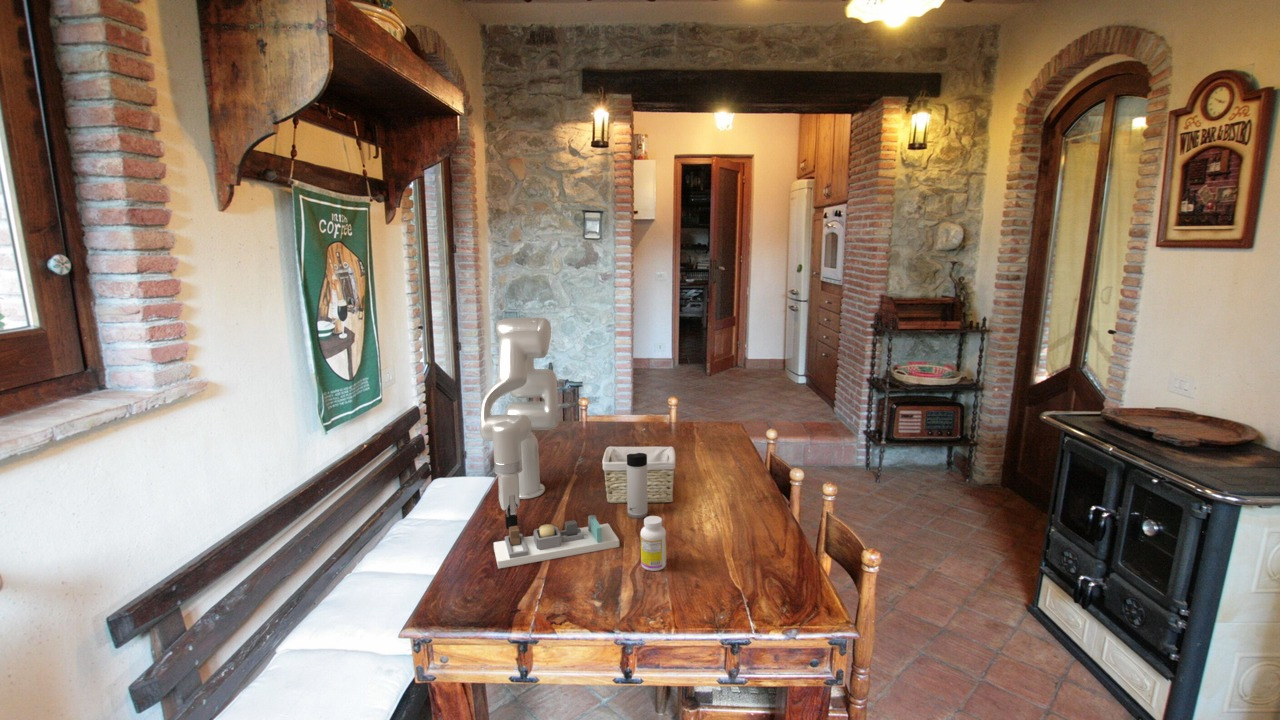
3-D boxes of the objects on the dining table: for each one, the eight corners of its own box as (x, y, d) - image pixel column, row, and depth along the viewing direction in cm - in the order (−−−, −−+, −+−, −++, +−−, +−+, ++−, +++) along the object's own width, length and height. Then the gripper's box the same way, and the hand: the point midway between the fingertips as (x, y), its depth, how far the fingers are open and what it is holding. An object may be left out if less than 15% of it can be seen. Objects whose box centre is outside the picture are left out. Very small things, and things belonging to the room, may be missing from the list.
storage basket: (602, 504, 193) (601, 461, 190) (606, 485, 209) (605, 445, 206) (675, 505, 192) (676, 462, 189) (675, 485, 208) (675, 445, 205)
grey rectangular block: (565, 534, 168) (564, 521, 167) (575, 533, 169) (575, 520, 168) (567, 538, 165) (566, 525, 165) (577, 536, 166) (577, 523, 166)
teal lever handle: (587, 528, 171) (587, 515, 171) (595, 527, 172) (595, 514, 171) (595, 542, 163) (594, 528, 162) (603, 540, 164) (603, 527, 163)
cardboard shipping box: (509, 540, 165) (508, 526, 164) (518, 538, 166) (517, 525, 165) (511, 545, 162) (510, 531, 161) (519, 543, 163) (519, 530, 162)
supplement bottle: (651, 556, 160) (651, 511, 158) (671, 564, 156) (671, 518, 154) (635, 566, 155) (635, 520, 153) (655, 575, 151) (655, 527, 148)
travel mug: (630, 520, 181) (629, 458, 178) (625, 511, 188) (624, 450, 184) (650, 517, 183) (649, 455, 179) (644, 508, 189) (643, 448, 186)
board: (493, 549, 165) (492, 527, 164) (608, 529, 176) (607, 509, 174) (498, 568, 155) (496, 545, 153) (619, 546, 165) (618, 525, 164)
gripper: (491, 459, 171) (495, 518, 175) (497, 477, 157) (501, 541, 161) (518, 455, 174) (521, 514, 177) (526, 473, 160) (529, 536, 163)
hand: (511, 527), depth 169 cm, fingers closed
